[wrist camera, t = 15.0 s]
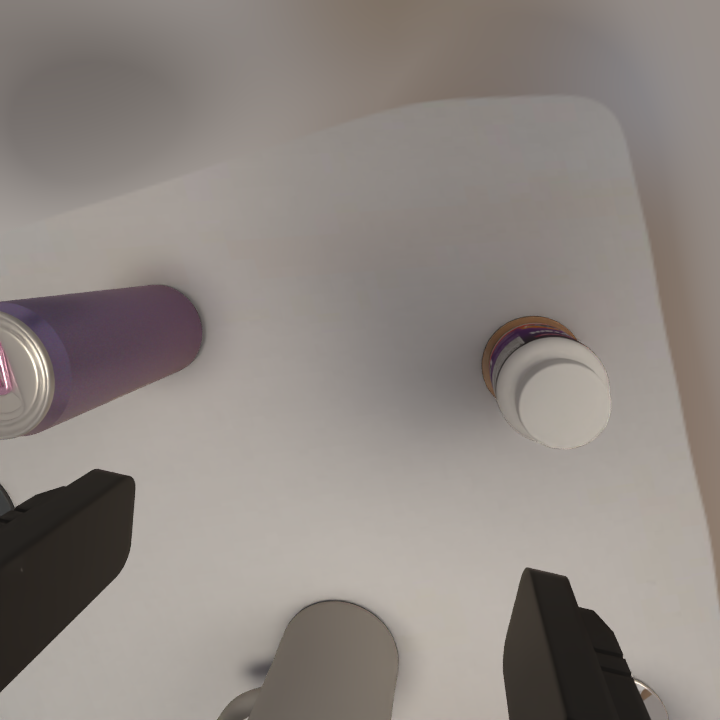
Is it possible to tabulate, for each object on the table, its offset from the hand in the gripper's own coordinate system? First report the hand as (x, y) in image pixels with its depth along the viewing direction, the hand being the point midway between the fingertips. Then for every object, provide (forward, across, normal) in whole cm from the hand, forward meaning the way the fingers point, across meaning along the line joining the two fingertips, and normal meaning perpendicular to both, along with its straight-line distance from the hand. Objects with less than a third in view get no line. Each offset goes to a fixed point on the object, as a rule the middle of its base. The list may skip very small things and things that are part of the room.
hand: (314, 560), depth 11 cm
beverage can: (+25, +16, +2) cm, 30 cm away
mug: (+25, +2, +24) cm, 35 cm away
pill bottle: (+25, -8, 0) cm, 26 cm away
